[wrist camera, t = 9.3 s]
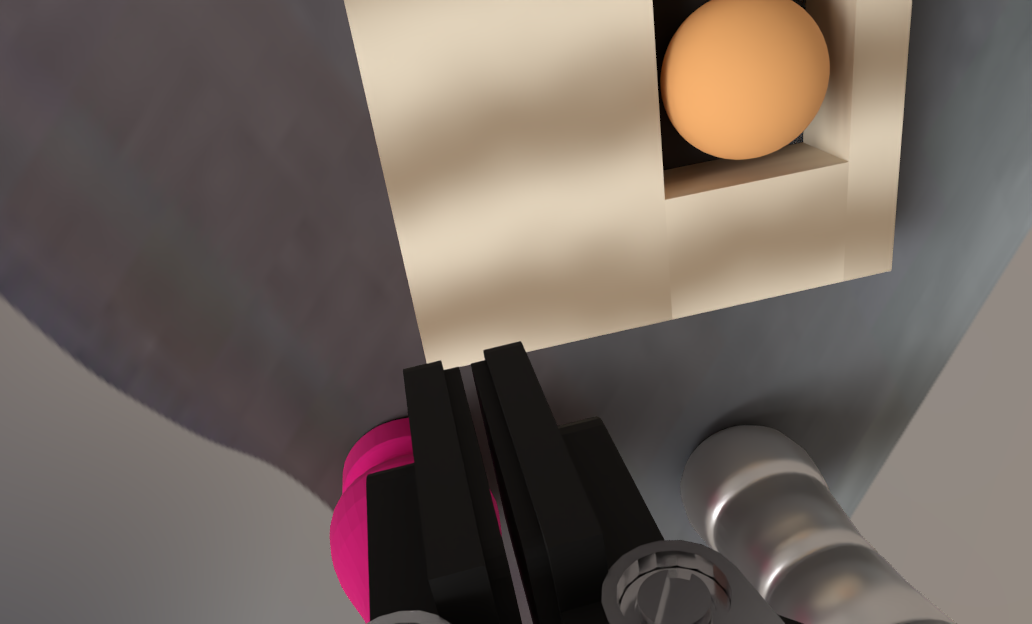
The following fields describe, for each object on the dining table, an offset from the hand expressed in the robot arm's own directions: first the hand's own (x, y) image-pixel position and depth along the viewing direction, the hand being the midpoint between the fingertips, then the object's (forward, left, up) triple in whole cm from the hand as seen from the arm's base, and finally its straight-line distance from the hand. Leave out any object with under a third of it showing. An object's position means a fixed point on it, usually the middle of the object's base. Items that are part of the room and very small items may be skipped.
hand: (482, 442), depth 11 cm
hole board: (0, +9, -22) cm, 23 cm away
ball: (0, +13, -19) cm, 23 cm away
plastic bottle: (+20, +13, -22) cm, 32 cm away
